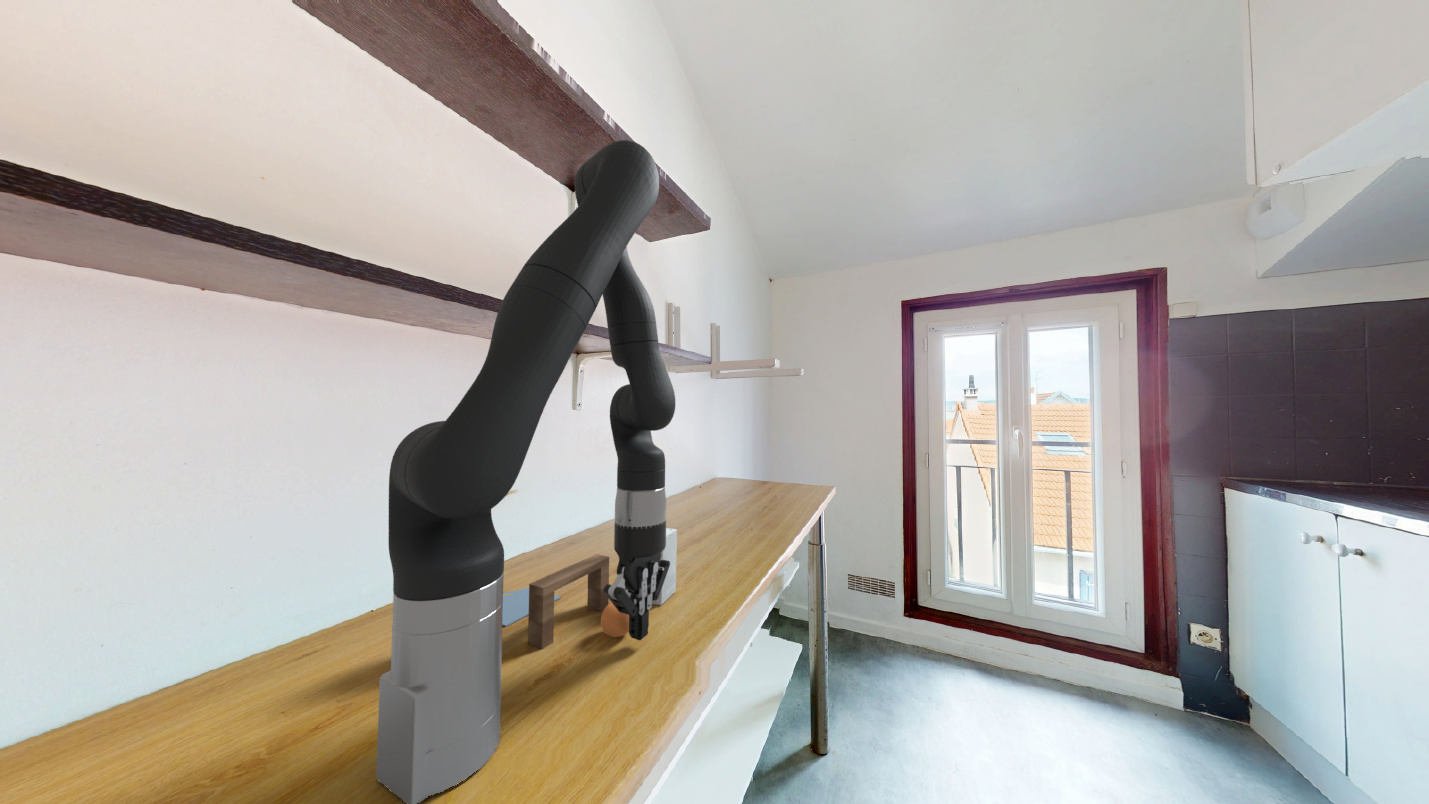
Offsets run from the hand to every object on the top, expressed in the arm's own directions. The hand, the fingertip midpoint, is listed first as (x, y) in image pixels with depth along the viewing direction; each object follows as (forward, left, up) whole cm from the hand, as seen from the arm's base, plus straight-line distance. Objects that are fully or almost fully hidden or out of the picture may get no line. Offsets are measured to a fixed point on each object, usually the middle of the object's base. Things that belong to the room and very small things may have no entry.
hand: (638, 636), depth 57 cm
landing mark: (0, +27, -2) cm, 28 cm away
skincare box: (+14, +6, -2) cm, 15 cm away
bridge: (0, +13, -2) cm, 14 cm away
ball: (+1, +5, +1) cm, 5 cm away
